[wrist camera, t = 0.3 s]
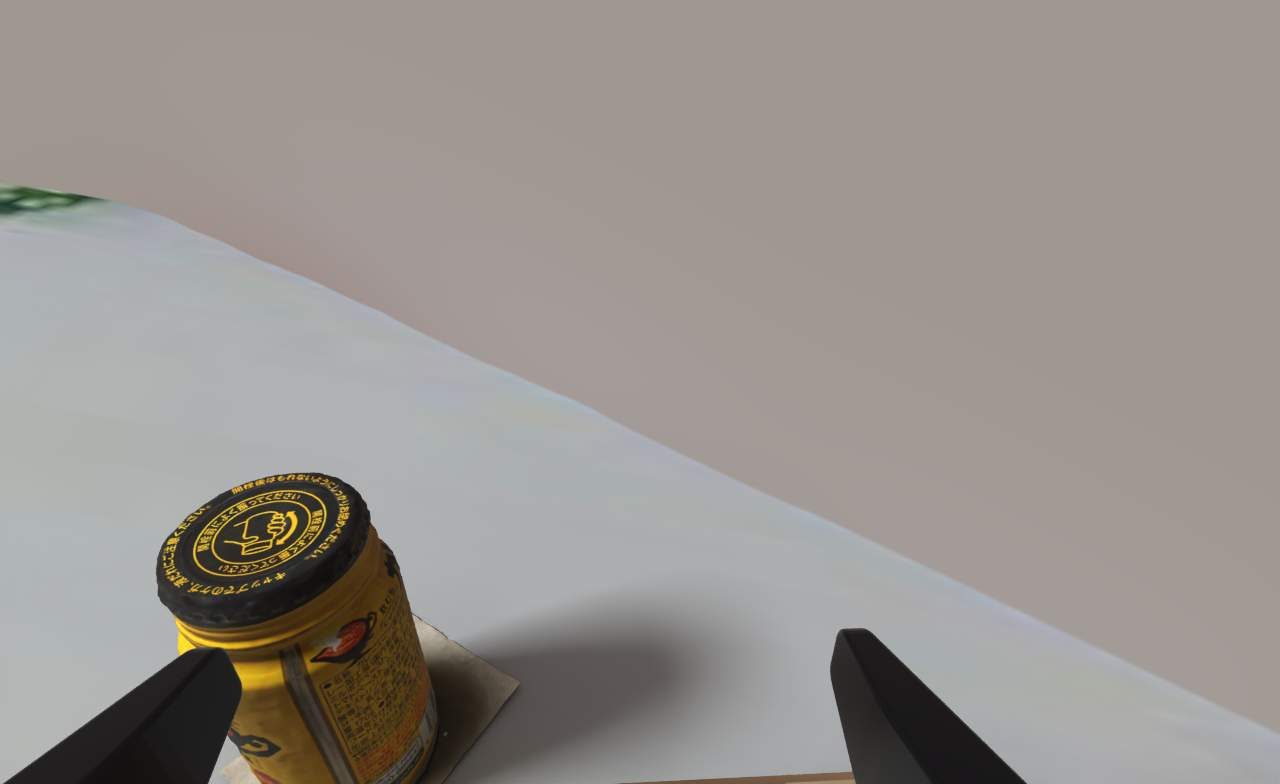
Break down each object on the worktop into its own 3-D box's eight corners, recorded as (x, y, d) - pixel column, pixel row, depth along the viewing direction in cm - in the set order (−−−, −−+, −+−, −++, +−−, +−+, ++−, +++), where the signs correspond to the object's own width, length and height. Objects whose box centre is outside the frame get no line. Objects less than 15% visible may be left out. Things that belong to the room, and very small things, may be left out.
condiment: (220, 775, 22) (59, 554, 15) (402, 609, 28) (342, 402, 22) (349, 903, 19) (218, 697, 12) (521, 686, 25) (493, 473, 19)
